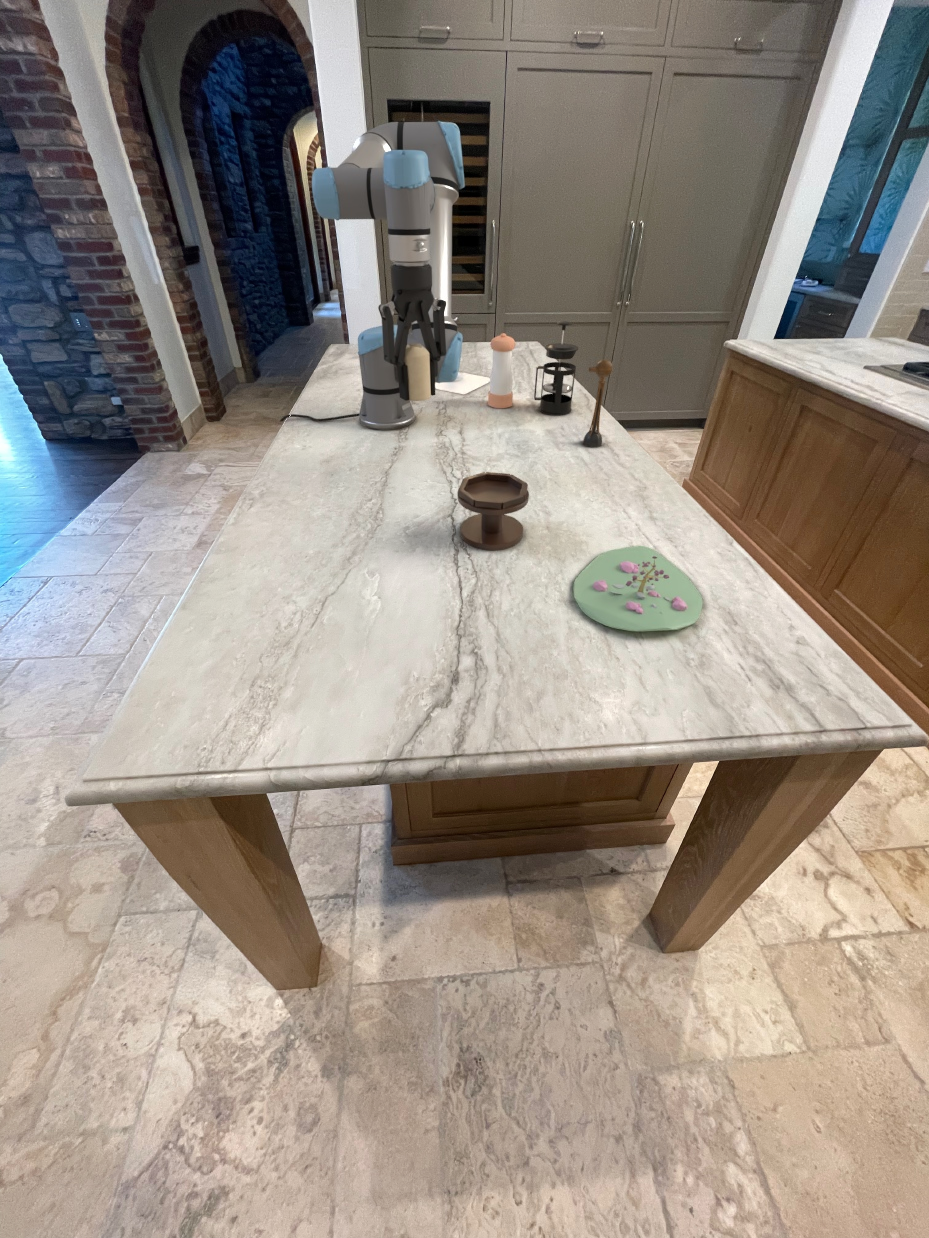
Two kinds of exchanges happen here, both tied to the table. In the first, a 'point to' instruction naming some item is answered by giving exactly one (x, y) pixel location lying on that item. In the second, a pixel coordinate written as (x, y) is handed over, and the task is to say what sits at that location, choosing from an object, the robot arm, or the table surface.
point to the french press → (557, 378)
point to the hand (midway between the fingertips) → (417, 396)
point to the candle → (418, 372)
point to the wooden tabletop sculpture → (597, 404)
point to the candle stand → (492, 510)
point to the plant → (637, 591)
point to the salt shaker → (501, 372)
